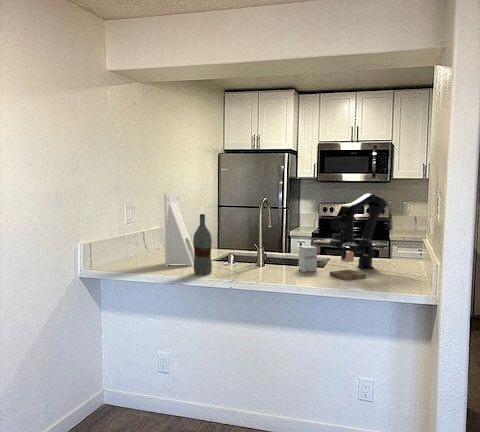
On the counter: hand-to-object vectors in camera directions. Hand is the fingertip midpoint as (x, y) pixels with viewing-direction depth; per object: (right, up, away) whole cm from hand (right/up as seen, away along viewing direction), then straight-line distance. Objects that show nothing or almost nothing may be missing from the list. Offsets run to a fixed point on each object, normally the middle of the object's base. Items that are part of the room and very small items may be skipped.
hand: (347, 259), depth 239 cm
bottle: (-74, -7, -6) cm, 75 cm away
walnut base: (-3, -7, -13) cm, 15 cm away
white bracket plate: (-87, -5, +21) cm, 90 cm away
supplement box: (-20, -6, +3) cm, 21 cm away
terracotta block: (0, -1, 0) cm, 1 cm away
